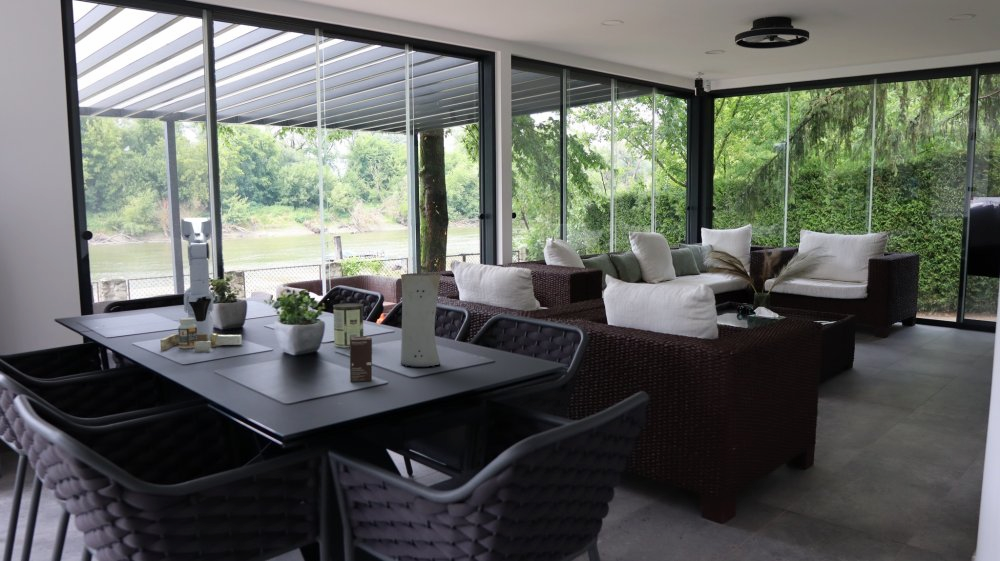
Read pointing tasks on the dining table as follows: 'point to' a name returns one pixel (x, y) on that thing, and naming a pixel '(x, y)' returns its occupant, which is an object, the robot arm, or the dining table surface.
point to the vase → (419, 319)
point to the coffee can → (347, 323)
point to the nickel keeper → (202, 346)
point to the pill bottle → (187, 333)
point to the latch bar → (225, 339)
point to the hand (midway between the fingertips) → (200, 320)
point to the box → (360, 359)
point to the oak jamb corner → (174, 340)
